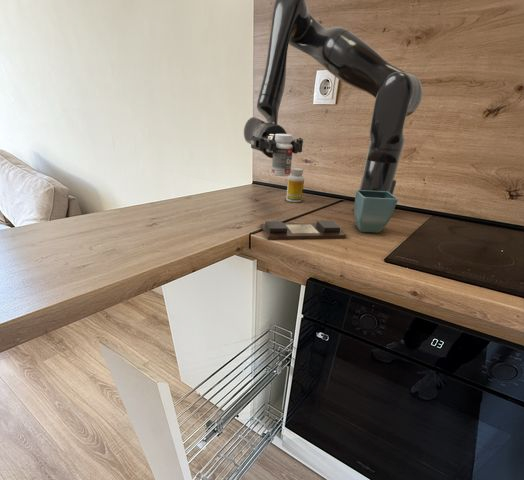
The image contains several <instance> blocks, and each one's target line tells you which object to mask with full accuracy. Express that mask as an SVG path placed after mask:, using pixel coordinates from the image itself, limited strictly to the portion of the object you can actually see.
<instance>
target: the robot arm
mask: <svg viewBox="0 0 524 480" xmlns="http://www.w3.org/2000/svg"><path fill="white" fill-rule="evenodd" d="M289 45H290V46H291V47H293V48H295V49H296V50H298V51H301V52H303V53H305V54H306V55H308V56H309V57H311V58H312V59H313V60H314V61H315V62H316V63H317V64H319V65H320V66H321V67H323V68H324V69H325V70H326V71H327V72H328V73H330V74H331V75H332V76H334V77H335V78H337V79H338V80H339V81H341V82H343V83H345V84H346V85H348V86H350V87H353V88H356V89H358V90H360V91H363V92H365V93H367V94H368V95H370V96H371V97H373V98H374V99H375V100H374V105H373V110H372V116H371V121H370V127H369V145H368V149H367V154H366V157H365V162H364V167H363V171H362V176H361V181H360V185H359V189H358V190H366V191H385V192H390V193H391V194H392V195H394V191H395V187H396V184H397V180H395V177H396V173H397V170H398V167H399V162H400V159H401V156H402V152H403V148H404V145H405V140H406V139H405V136H404V125H405V122H406V118H408V117H409V116H410V115H412V114H414V113H415V112H416V110H417V109H418V108H419V106H420V104H421V102H422V99H423V92H424V91H423V86H422V82H421V81H420V79H419V78H418V77H417V76H416V75H415V74H412V73H409V72H407V71H405V70H402V69H401V68H399V67H397V66H395V65H393V64H391V63H390V62H388V61H387V60H385V59H384V58H383V56H381V54H379V53H378V52H377V51H376V50H375V49H374V48H372V47H371V46H370V45H369V44H368V43H366V42H365V41H364V40H363V39H361V37H359V36H358V35H356V34H355V33H353V32H352V31H351V30H349V29H347V28H345V27H342V26H334V27H326V26H324V25H322V24H321V23H320V22H319V21H317V20H316V19H315V18H314V17H313V15H312V14H311V12H310V10H309V7H308V4H307V2H306V0H274V5H273V10H272V17H271V25H270V33H269V41H268V47H267V48H268V49H267V54H266V55H267V56H266V62H265V68H264V74H263V77H262V81H261V85H260V89H259V93H258V97H257V101H256V110H257V111H258V112H259V113H260V114H261V115H262V116H263V118H265V120H266V121H263V120H262V119H260V118H258V117H256V116H252V117H250V118H249V119H248V120H247V121H246V122H245V124H244V127H243V139H244V141H245V142H246V143H247V144H248V145H250V148H251V149H252V150H255V151H260V153H262V154H263V155H265V156H266V157H267V158H270V159H273V153H276V141H275V134H288V133H287V131H286V130H285V128H284V127H283V126H281V125H280V124H278V119H279V111H280V106H281V102H282V99H283V96H284V91H285V85H286V80H287V79H286V78H287V60H288V58H287V57H288V49H289ZM291 144H292V146H293V150H292V154H293V155H294V154H296V155H297V154H298V153H299V154H300V153H303V144H304V139H303V138H302V137H298V138H296V139H295V138H294V139H293V137H292V142H291Z"/></svg>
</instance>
